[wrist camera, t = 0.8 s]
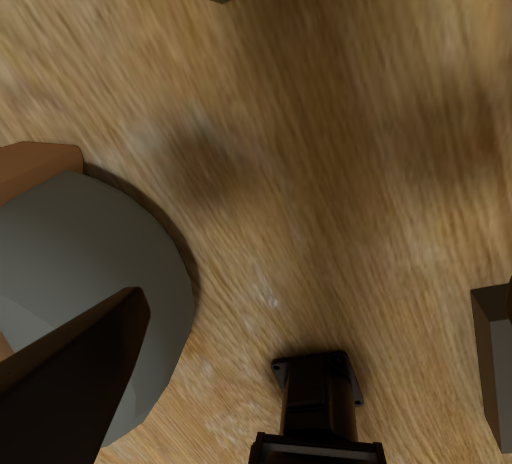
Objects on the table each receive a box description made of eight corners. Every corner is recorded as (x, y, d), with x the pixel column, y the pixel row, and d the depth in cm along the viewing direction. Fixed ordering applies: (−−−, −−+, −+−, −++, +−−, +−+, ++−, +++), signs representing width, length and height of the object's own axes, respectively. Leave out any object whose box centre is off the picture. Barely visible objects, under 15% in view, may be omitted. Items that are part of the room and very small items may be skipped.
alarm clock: (37, 78, 20) (-252, 125, 10) (252, 300, 26) (211, 471, 16) (-79, 237, 28) (-305, 354, 18) (107, 379, 34) (17, 528, 24)
